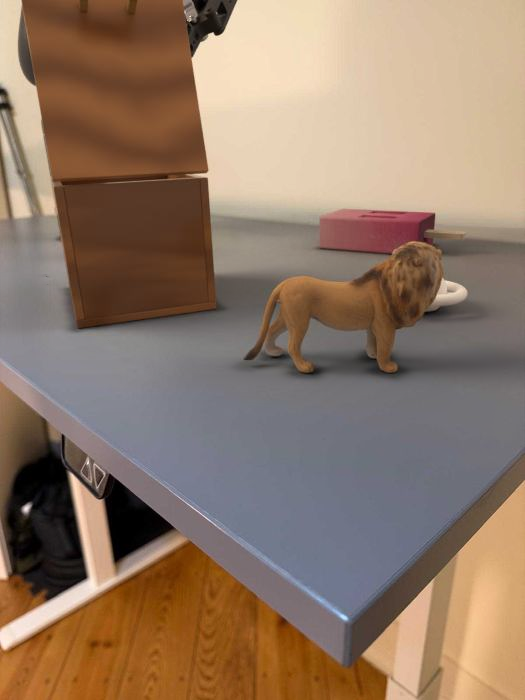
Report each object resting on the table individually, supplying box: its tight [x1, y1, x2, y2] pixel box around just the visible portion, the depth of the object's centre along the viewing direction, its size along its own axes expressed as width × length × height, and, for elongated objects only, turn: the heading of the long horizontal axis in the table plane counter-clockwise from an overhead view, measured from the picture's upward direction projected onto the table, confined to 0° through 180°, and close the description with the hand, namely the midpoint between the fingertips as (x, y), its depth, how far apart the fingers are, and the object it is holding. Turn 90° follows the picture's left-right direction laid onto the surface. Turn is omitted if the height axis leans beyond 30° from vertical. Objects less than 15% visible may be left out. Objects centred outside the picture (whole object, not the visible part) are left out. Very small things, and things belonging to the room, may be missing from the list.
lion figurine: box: [242, 241, 444, 374], centre depth 40 cm, size 15×5×9 cm, turn 93°
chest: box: [50, 174, 217, 329], centre depth 57 cm, size 16×14×13 cm
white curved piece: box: [424, 276, 468, 313], centre depth 52 cm, size 8×6×8 cm
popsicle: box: [318, 208, 467, 255], centre depth 79 cm, size 9×5×20 cm
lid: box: [20, 0, 209, 182], centre depth 45 cm, size 16×14×6 cm
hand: (145, 63), depth 56 cm, fingers open, 8 cm apart
